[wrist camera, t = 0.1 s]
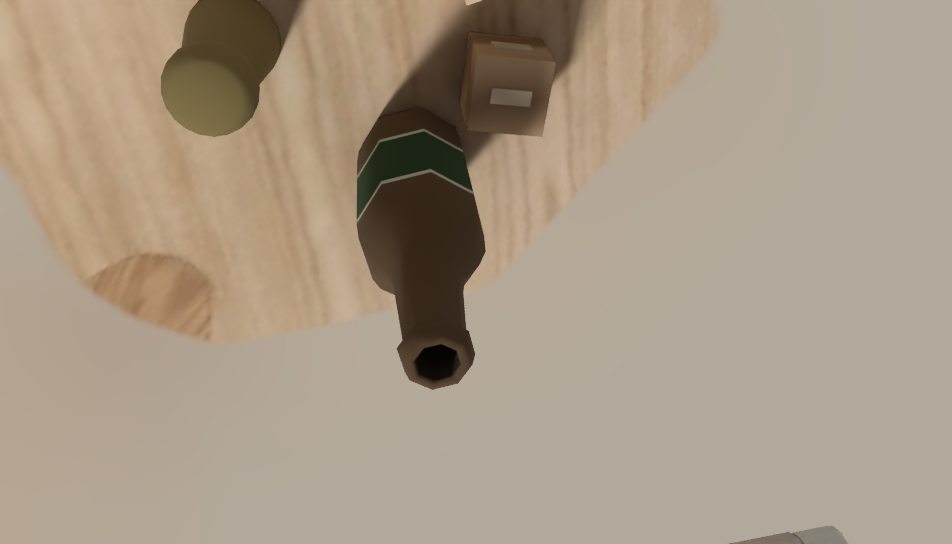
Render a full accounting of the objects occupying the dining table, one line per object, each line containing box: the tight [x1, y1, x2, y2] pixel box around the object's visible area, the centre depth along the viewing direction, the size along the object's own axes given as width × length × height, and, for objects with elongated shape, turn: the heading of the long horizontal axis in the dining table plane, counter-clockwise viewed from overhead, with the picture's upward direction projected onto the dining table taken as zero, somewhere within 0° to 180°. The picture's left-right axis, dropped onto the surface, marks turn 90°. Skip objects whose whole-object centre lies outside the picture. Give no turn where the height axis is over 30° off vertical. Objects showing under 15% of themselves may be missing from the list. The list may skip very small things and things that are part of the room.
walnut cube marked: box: [460, 32, 556, 137], centre depth 54 cm, size 5×5×5 cm
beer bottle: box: [357, 107, 485, 390], centre depth 49 cm, size 8×8×24 cm
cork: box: [161, 0, 281, 137], centre depth 49 cm, size 6×6×11 cm
